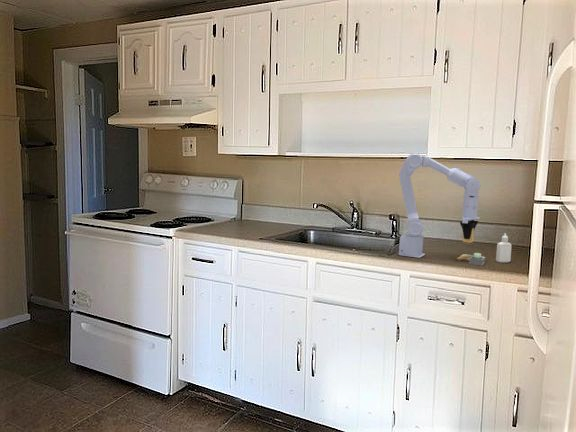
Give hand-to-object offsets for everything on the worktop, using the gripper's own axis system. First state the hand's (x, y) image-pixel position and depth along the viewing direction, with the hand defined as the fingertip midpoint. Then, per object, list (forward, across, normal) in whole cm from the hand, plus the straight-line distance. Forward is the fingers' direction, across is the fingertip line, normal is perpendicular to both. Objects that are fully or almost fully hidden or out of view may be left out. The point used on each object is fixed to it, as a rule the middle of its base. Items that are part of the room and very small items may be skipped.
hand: (468, 238), depth 201 cm
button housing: (+9, -6, -6) cm, 12 cm away
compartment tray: (+9, +2, -2) cm, 9 cm away
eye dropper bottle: (+9, +5, -13) cm, 17 cm away
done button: (+8, -6, -6) cm, 11 cm away
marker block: (+1, 0, 0) cm, 1 cm away
